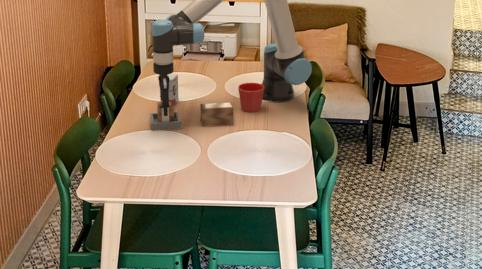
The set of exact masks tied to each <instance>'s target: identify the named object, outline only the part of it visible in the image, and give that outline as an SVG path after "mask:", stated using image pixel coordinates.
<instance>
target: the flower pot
mask: <svg viewBox="0 0 482 269" xmlns="http://www.w3.org/2000/svg"><path fill="white" fill-rule="evenodd" d="M237 90H238V95H239V101H240V106H241V110H242V111H244V112H245V113H255V112H256V113H257V112H258V111H260V110H261V108H262V104H263V103H262V102H263V100H264V99H263V93H264V86H263V85H262V83H258V82H245V83H241V84H239V85H238V88H237Z"/></svg>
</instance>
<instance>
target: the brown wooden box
mask: <svg viewBox="0 0 482 269" xmlns="http://www.w3.org/2000/svg"><path fill="white" fill-rule="evenodd" d="M199 111H200V124H201V126H202V127H210V126H214V127H215V126H228V125H229V126H230V125H233V126H234V106H233V104H232V102H212V103H209V102H206V103H200V109H199Z"/></svg>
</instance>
